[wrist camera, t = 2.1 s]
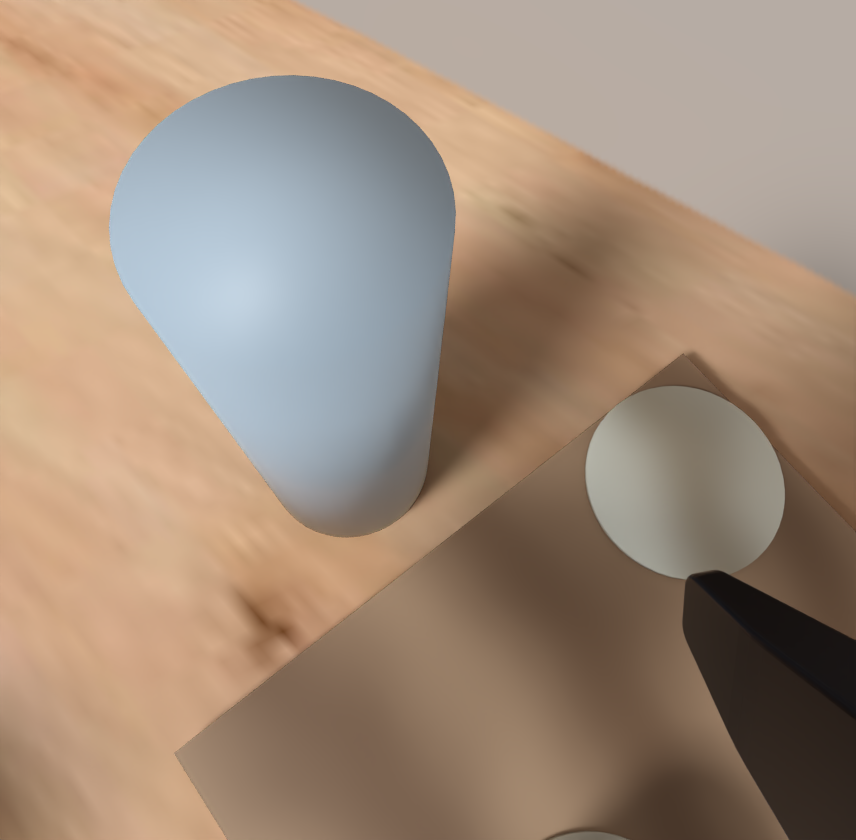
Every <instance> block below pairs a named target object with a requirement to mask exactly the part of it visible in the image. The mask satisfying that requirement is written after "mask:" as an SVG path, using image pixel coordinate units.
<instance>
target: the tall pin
mask: <svg viewBox="0 0 856 840" xmlns="http://www.w3.org/2000/svg"><path fill="white" fill-rule="evenodd" d="M455 216H456V210H455V200H454V192H453V188H452V184H451V181H450V177H449V174H448V171H447V169H446V167H445V165H444V162H443V160H442V158H441V156H440V154H439V153H438V151H437V150H436V148H435V146H434V145H433V143H432V142H431V140H430V139H429V138H428V137H427V135H426V134H425V133H424V132H423V131H422V129H421V128H420V127H419V126H418V125H417V124H416V123H415V122H413V121H412V120H411V119H410V118H409V117H408V116H407V115H406V114H405V113H403V112H402V111H400V110H399V109H398V108H396V107H395V106H393V105H392V104H391V103H389V102H387V101H385V100H384V99H382V98H380V97H378V96H376V95H375V94H373V93H370V92H368V91H365V90H363V89H361V88H358V87H356V86H353V85H349V84H346V83H342V82H339V81H335V80H330V79H324V78H318V77H310V76H296V75H289V76H269V77H262V78H255V79H249V80H245V81H241V82H237V83H233V84H229V85H227V86H224V87H221V88H218V89H215V90H213V91H210V92H208V93H206V94H204V95H202V96H200V97H198V98H196V99H194V100H192V101H190V102H188V103H187V104H185V105H184V106H182V107H180V108H179V109H177V110H176V111H174V112H173V113H172V114H170V115H169V116H168V117H167V118H165V119H164V120H163V121H162V122H160V123H159V124H158V125H157V126H156V127H155V128H154V129H153V130H152V131H151V132H150V133H149V134H148V135H147V136H146V137H145V138H144V140H143V141H142V142H141V143H140V145H139V146H138V147H137V149H136V150H135V151H134V153H133V154H132V156H131V157H130V159H129V161H128V163H127V164H126V166H125V168H124V169H123V171H122V174H121V176H120V179H119V181H118V184H117V186H116V189H115V192H114V197H113V201H112V205H111V211H110V223H109V232H110V245H111V251H112V255H113V259H114V263H115V267H116V269H117V272H118V274H119V276H120V279H121V281H122V284H123V286H124V287H125V289H126V290H127V292H128V294H129V295H130V297H131V298H132V300H133V302H134V303H135V304H136V306H137V307H138V309H139V310H140V311H141V313H142V314H143V315H144V317H145V318H146V319H147V321H148V322H149V324H150V325H151V326H152V328H153V329H154V330H155V332H156V333H157V334H158V336H159V337H160V339H161V340H162V341H163V343H164V344H165V345H166V347H167V348H168V349H169V351H170V352H171V354H172V355H173V356H174V358H175V359H176V360H177V362H178V363H179V364H180V366H181V367H182V369H183V370H184V371H185V373H186V374H187V375H188V377H189V378H190V379H191V381H192V382H193V383H194V385H195V386H196V388H197V389H198V390H199V392H200V393H201V394H202V396H203V397H204V398H205V400H206V401H207V403H208V404H209V405H210V407H211V408H212V409H213V411H214V412H215V413H216V415H217V416H218V418H219V419H220V420H221V422H222V423H223V424H224V426H225V427H226V428H227V430H228V431H229V433H230V434H231V435H232V437H233V438H234V439H235V441H236V442H237V443H238V445H239V446H240V448H241V449H242V450H243V452H244V453H245V454H246V456H247V457H248V458H249V460H250V461H251V463H252V464H253V465H254V467H255V468H256V469H257V471H258V472H259V473H260V475H261V476H262V477H263V479H264V480H265V482H266V483H267V484H268V486H269V487H270V488H271V490H272V491H273V492H274V494H275V495H276V497H277V498H278V499H279V501H280V502H281V503H282V505H283V506H284V507H285V508H286V510H287V511H288V512H289V513H290V514H291V515H292V516H293V517H294V518H295V519H296V520H297V521H299V522H300V523H302V524H303V525H305V526H306V527H308V528H310V529H312V530H314V531H316V532H319V533H322V534H325V535H330V536H335V537H358V536H363V535H368V534H371V533H374V532H377V531H380V530H382V529H384V528H386V527H388V526H389V525H391V524H392V523H394V522H395V521H397V520H398V519H399V518H400V517H401V516H403V515H404V514H405V513H406V512H407V511H408V509H409V508H410V507H411V506H412V505H413V503H414V502H415V500H416V499H417V497H418V495H419V493H420V491H421V489H422V487H423V484H424V481H425V478H426V473H427V468H428V459H429V450H430V442H431V433H432V424H433V416H434V407H435V398H436V389H437V381H438V372H439V363H440V355H441V346H442V337H443V329H444V320H445V311H446V303H447V294H448V285H449V277H450V268H451V259H452V251H453V242H454V233H455Z"/></svg>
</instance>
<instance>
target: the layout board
mask: <svg viewBox="0 0 856 840" xmlns="http://www.w3.org/2000/svg"><path fill="white" fill-rule="evenodd" d="M709 570H721V571H723V572H726V573H728V574H729V575H731V576H733V577H735V578H737V579H739V580H741V581H743V582H745V583H747V584H749V585H751V586H753V587H755V588H757V589H758V590H760V591H762V592H764V593H766V594H768V595H770V596H772V597H774V598H776V599H778V600H780V601H782V602H784V603H786V604H788V605H789V606H791V607H793V608H795V609H797V610H799V611H801V612H803V613H805V614H807V615H809V616H811V617H813V618H815V619H817V620H818V621H820V622H822V623H824V624H826V625H828V626H830V627H832V628H834V629H836V630H838V631H840V632H842V633H844V634H846V635H847V636H849V637H851V638H853V639H855V640H856V532H855V531H854V530H853V529H852V527H851V526H850V525H849V524H848V523H847V522H846V521H845V520H844V519H843V518H842V517H841V516H840V515H839V514H838V513H837V512H836V511H835V510H834V509H833V508H832V507H831V506H830V505H829V504H828V503H827V502H826V501H825V500H824V499H823V497H822V496H821V495H820V494H819V493H818V492H817V491H816V490H815V489H814V488H813V487H812V486H811V485H810V484H809V483H808V482H807V481H806V480H805V479H804V478H803V477H802V476H801V475H800V474H799V473H798V472H797V471H796V470H795V469H794V468H793V466H792V465H791V464H790V463H789V462H788V461H787V460H786V459H785V458H784V457H783V456H782V455H781V454H780V453H779V452H778V451H777V450H776V449H775V448H774V447H773V446H772V445H771V444H770V442H769V440H768V439H767V437H766V436H765V434H764V433H763V431H762V430H761V429H760V428H759V427H758V426H757V424H756V423H755V422H754V421H753V420H752V419H751V418H750V417H749V416H748V415H746V414H745V413H744V412H743V411H742V410H740V409H739V408H738V407H736V406H735V405H734V404H732V403H731V402H730V401H729V400H728V399H727V398H726V397H725V396H724V395H723V394H722V393H721V392H720V391H719V390H718V389H717V388H716V387H715V386H714V385H713V384H712V383H711V382H710V381H709V380H708V379H707V378H706V376H705V375H704V374H703V373H702V372H701V371H700V370H699V369H698V368H697V367H696V366H695V365H694V364H693V363H692V362H691V361H690V360H689V359H688V358H687V357H686V356H685V355H684V354H682V355H681V356H680V357H678V358H677V359H676V360H675V361H673V362H672V363H671V364H669V365H668V366H667V367H666V368H664V369H663V370H662V371H661V372H659V373H658V374H657V375H655V376H654V377H653V378H652V379H650V380H649V381H648V382H646V383H645V384H644V385H643V386H641V387H640V388H639V389H638V390H636V391H635V392H634V393H632V394H631V395H630V396H629V397H627V398H626V399H625V400H623V401H622V402H620V403H619V404H617V405H616V406H615V407H614V408H613V409H612V410H611V411H610V412H608V413H607V414H606V415H604V416H603V417H602V418H601V419H599V420H598V421H597V422H596V423H594V424H593V425H592V426H590V427H589V428H588V429H587V430H585V431H584V432H583V433H582V434H580V435H579V436H578V437H576V438H575V439H574V440H573V441H571V442H570V443H569V444H567V445H566V446H565V447H564V448H562V449H561V450H560V451H559V452H557V453H556V454H555V455H553V456H552V457H551V458H550V459H548V460H547V461H546V462H545V463H543V464H542V465H541V466H539V467H538V468H537V469H536V470H534V471H533V472H532V473H531V474H529V475H528V476H527V477H525V478H524V479H523V480H522V481H520V482H519V483H518V484H517V485H515V486H514V487H513V488H511V489H510V490H509V491H508V492H506V493H505V494H504V495H502V496H501V497H500V498H499V499H497V500H496V501H495V502H494V503H492V504H491V505H490V506H488V507H487V508H486V509H485V510H483V511H482V512H481V513H480V514H478V515H477V516H476V517H474V518H473V519H472V520H471V521H469V522H468V523H467V524H466V525H464V526H463V527H462V528H460V529H459V530H458V531H457V532H455V533H454V534H453V535H452V536H450V537H449V538H448V539H446V540H445V541H444V542H443V543H441V544H440V545H439V546H438V547H436V548H435V549H434V550H432V551H431V552H430V553H429V554H427V555H426V556H425V557H423V558H422V559H421V560H420V561H418V562H417V563H416V564H415V565H413V566H412V567H411V568H409V569H408V570H407V571H406V572H404V573H403V574H402V575H401V576H399V577H398V578H397V579H395V580H394V581H393V582H392V583H390V584H389V585H388V586H387V587H385V588H384V589H383V590H381V591H380V592H379V593H378V594H376V595H375V596H374V597H373V598H371V599H370V600H369V601H367V602H366V603H365V604H364V605H362V606H361V607H360V608H359V609H357V610H356V611H355V612H353V613H352V614H351V615H350V616H348V617H347V618H346V619H344V620H343V621H342V622H341V623H339V624H338V625H337V626H336V627H334V628H333V629H332V630H330V631H329V632H328V633H327V634H325V635H324V636H323V637H322V638H320V639H319V640H318V641H316V642H315V643H314V644H313V645H311V646H310V647H309V648H308V649H306V650H305V651H304V652H302V653H301V654H300V655H299V656H297V657H296V658H295V659H294V660H292V661H291V662H290V663H288V664H287V665H286V666H285V667H283V668H282V669H281V670H279V671H278V672H277V673H276V674H274V675H273V676H272V677H271V678H269V679H268V680H267V681H265V682H264V683H263V684H262V685H260V686H259V687H258V688H257V689H255V690H254V691H253V692H251V693H250V694H249V695H248V696H246V697H245V698H244V699H243V700H241V701H240V702H239V703H237V704H236V705H235V706H234V707H232V708H231V709H230V710H229V711H227V712H226V713H225V714H223V715H222V716H221V717H220V718H218V719H217V720H216V721H215V722H213V723H212V724H211V725H209V726H208V727H207V728H206V729H204V730H203V731H202V732H200V733H199V734H198V735H197V736H195V737H194V738H193V739H192V740H190V741H189V742H188V743H186V744H185V745H184V746H183V747H181V748H180V749H179V750H178V751H176V752H175V753H174V754H175V756H176V757H177V759H178V760H179V762H180V764H181V765H182V767H183V769H184V770H185V772H186V773H187V775H188V777H189V778H190V780H191V781H192V783H193V785H194V786H195V788H196V790H197V791H198V793H199V794H200V796H201V798H202V799H203V801H204V803H205V804H206V806H207V807H208V809H209V811H210V812H211V814H212V815H213V817H214V819H215V820H216V822H217V824H218V825H219V827H220V828H221V830H222V832H223V833H224V835H225V837H226V838H227V840H789V839H788V837H787V835H786V834H785V832H784V830H783V829H782V827H781V825H780V823H779V822H778V820H777V818H776V817H775V815H774V813H773V812H772V810H771V808H770V807H769V805H768V803H767V801H766V800H765V798H764V796H763V795H762V793H761V791H760V790H759V788H758V786H757V785H756V783H755V781H754V779H753V778H752V776H751V774H750V773H749V771H748V769H747V768H746V766H745V764H744V762H743V760H742V759H741V757H740V755H739V753H738V752H737V750H736V748H735V746H734V744H733V742H732V740H731V738H730V736H729V734H728V731H727V729H726V727H725V725H724V723H723V721H722V718H721V716H720V714H719V712H718V710H717V707H716V705H715V703H714V701H713V699H712V697H711V694H710V692H709V690H708V688H707V686H706V683H705V681H704V679H703V677H702V675H701V672H700V670H699V668H698V666H697V664H696V662H695V659H694V657H693V655H692V653H691V651H690V648H689V646H688V644H687V642H686V639H685V636H684V632H683V627H682V617H683V604H684V590H685V582H686V579H687V577H688V576H689V575H691V574H693V573H698V572H704V571H709Z"/></svg>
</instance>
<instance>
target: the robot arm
mask: <svg viewBox="0 0 856 840" xmlns="http://www.w3.org/2000/svg"><path fill="white" fill-rule="evenodd" d="M682 627H683V632H684V636H685V639H686V642H687V644H688V646H689V648H690V651H691V653H692V655H693V657H694V659H695V662H696V664H697V666H698V668H699V670H700V672H701V675H702V677H703V679H704V681H705V683H706V686H707V688H708V690H709V692H710V694H711V697H712V699H713V701H714V703H715V705H716V707H717V710H718V712H719V714H720V716H721V718H722V721H723V723H724V725H725V727H726V729H727V731H728V734H729V736H730V738H731V740H732V742H733V744H734V746H735V748H736V750H737V752H738V753H739V755H740V757H741V759H742V760H743V762H744V764H745V766H746V768H747V769H748V771H749V773H750V774H751V776H752V778H753V779H754V781H755V783H756V785H757V786H758V788H759V790H760V791H761V793H762V795H763V796H764V798H765V800H766V801H767V803H768V805H769V807H770V808H771V810H772V812H773V813H774V815H775V817H776V818H777V820H778V822H779V823H780V825H781V827H782V829H783V830H784V832H785V834H786V835H787V837H788V839H789V840H856V640H855V639H853V638H851V637H849V636H847V635H846V634H844V633H842V632H840V631H838V630H836V629H834V628H832V627H830V626H828V625H826V624H824V623H822V622H820V621H818V620H817V619H815V618H813V617H811V616H809V615H807V614H805V613H803V612H801V611H799V610H797V609H795V608H793V607H791V606H789V605H788V604H786V603H784V602H782V601H780V600H778V599H776V598H774V597H772V596H770V595H768V594H766V593H764V592H762V591H760V590H758V589H757V588H755V587H753V586H751V585H749V584H747V583H745V582H743V581H741V580H739V579H737V578H735V577H733V576H731V575H729V574H728V573H726V572H723V571H721V570H709V571H704V572H698V573H693V574H691V575H689V576H688V577H687V579H686V582H685V590H684V604H683V617H682Z"/></svg>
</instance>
